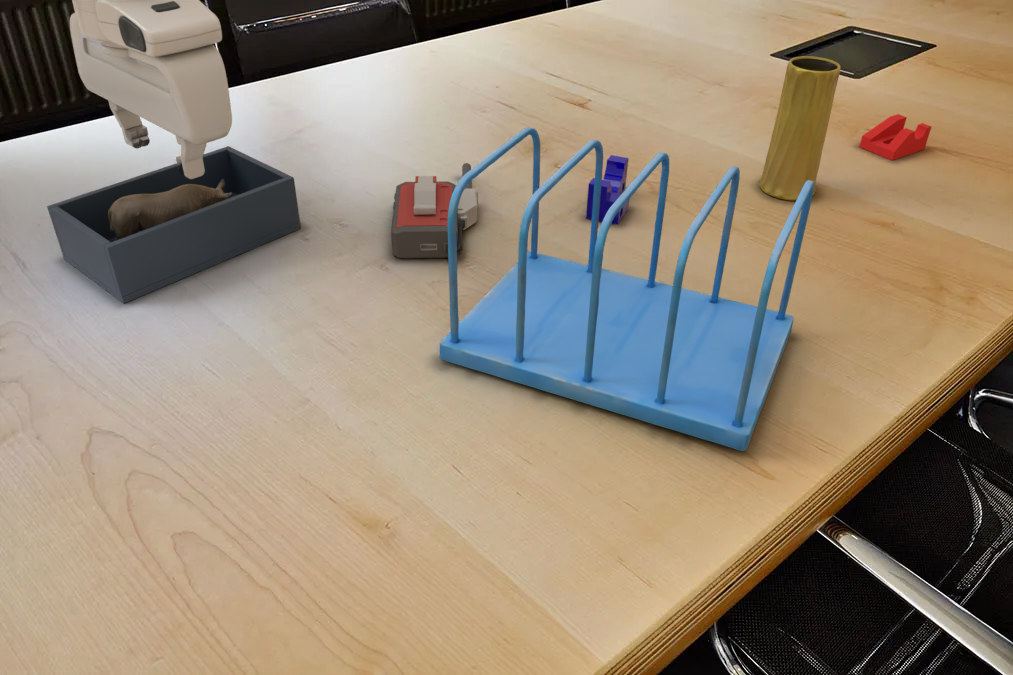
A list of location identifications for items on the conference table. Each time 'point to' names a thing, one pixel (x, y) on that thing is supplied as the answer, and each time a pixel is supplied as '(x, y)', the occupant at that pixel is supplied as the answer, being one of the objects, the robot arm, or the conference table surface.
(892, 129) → the bracket
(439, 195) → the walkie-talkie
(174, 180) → the bin
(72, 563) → the conference table surface
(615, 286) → the file sorter
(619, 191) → the cable holder
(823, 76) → the vase
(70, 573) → the conference table surface
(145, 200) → the rhino figurine
